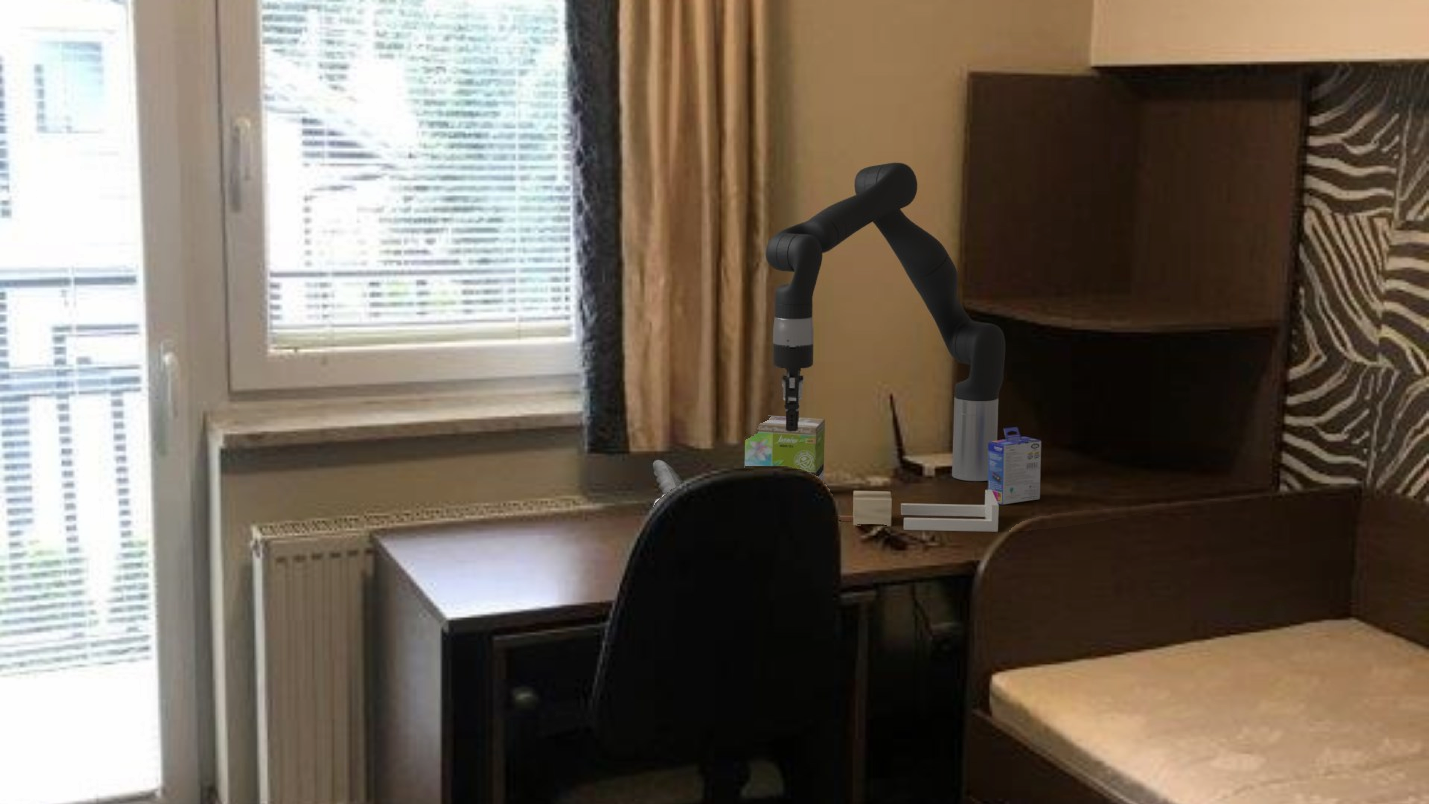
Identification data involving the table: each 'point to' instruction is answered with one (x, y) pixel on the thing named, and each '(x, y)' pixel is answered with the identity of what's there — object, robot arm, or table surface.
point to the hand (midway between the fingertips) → (792, 426)
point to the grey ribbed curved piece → (665, 477)
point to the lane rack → (953, 510)
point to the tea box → (788, 445)
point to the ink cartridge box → (1014, 468)
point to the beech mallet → (870, 508)
